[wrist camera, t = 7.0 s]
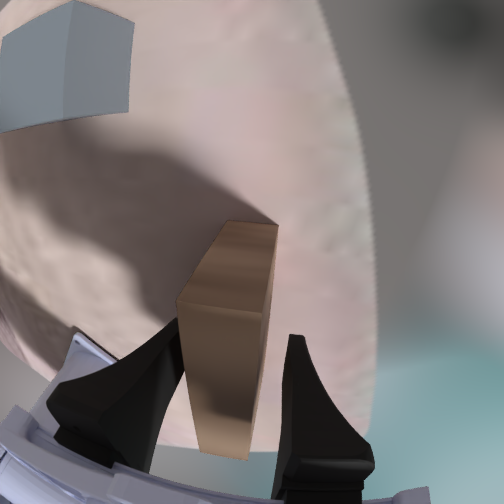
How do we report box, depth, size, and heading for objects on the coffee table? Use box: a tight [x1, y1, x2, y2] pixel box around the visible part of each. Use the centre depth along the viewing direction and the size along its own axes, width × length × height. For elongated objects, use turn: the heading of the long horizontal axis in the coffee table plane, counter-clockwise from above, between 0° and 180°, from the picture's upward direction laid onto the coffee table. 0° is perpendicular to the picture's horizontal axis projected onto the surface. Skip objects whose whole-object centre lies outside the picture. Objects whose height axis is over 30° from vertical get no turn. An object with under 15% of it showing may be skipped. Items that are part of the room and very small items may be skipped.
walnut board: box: [176, 220, 279, 461], centre depth 14 cm, size 10×2×7 cm, turn 177°
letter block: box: [0, 0, 135, 133], centre depth 10 cm, size 5×5×5 cm
